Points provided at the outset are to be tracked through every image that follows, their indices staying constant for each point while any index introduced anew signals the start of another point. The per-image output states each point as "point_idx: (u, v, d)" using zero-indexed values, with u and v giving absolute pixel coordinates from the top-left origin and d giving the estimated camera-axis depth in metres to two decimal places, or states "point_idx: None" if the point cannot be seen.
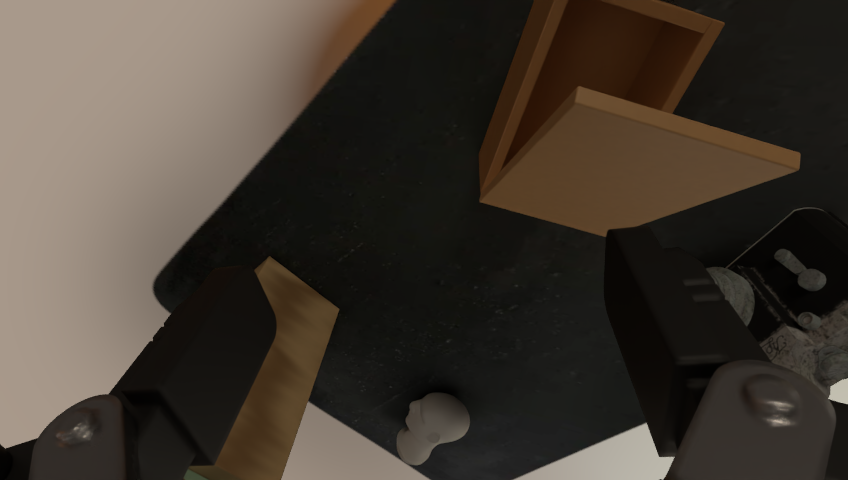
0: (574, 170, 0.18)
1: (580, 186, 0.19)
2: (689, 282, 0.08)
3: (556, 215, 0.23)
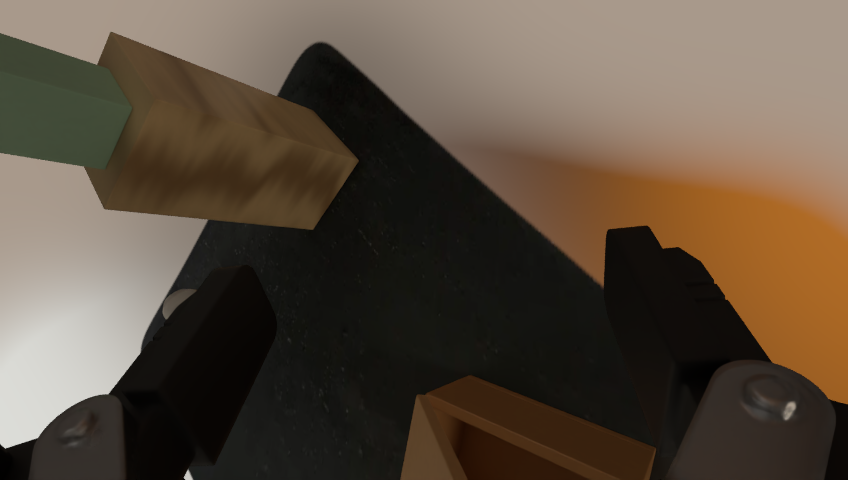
0: None
1: None
2: (689, 282, 0.08)
3: (407, 477, 0.23)
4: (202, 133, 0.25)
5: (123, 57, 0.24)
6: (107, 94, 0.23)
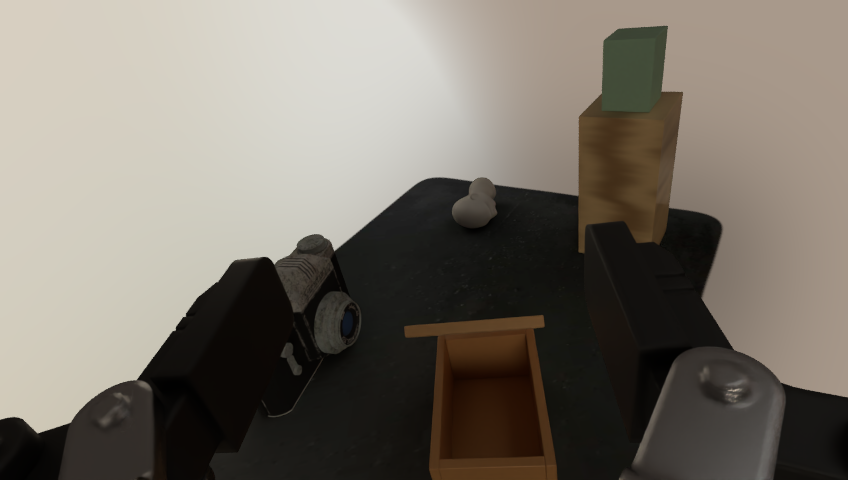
0: None
1: None
2: (661, 275, 0.08)
3: None
4: (646, 152, 0.40)
5: (674, 101, 0.40)
6: (652, 98, 0.39)
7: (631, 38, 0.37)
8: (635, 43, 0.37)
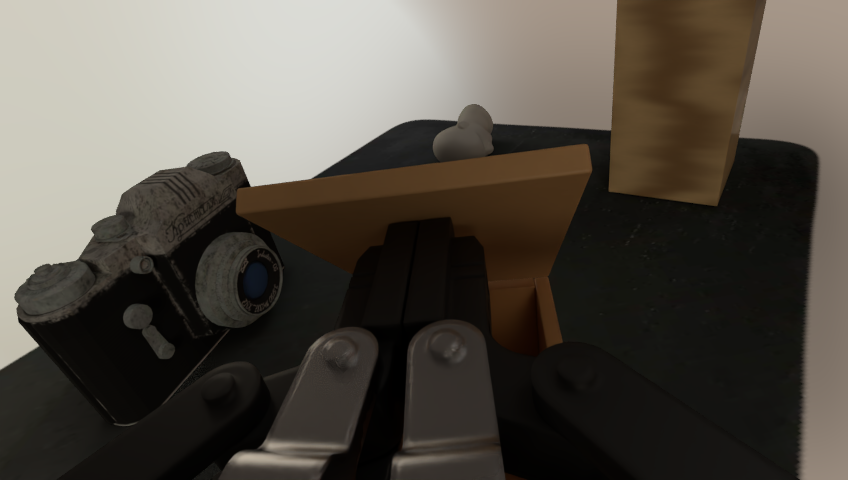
0: None
1: None
2: (465, 263, 0.10)
3: None
4: (729, 8, 0.25)
5: None
6: None
7: None
8: None
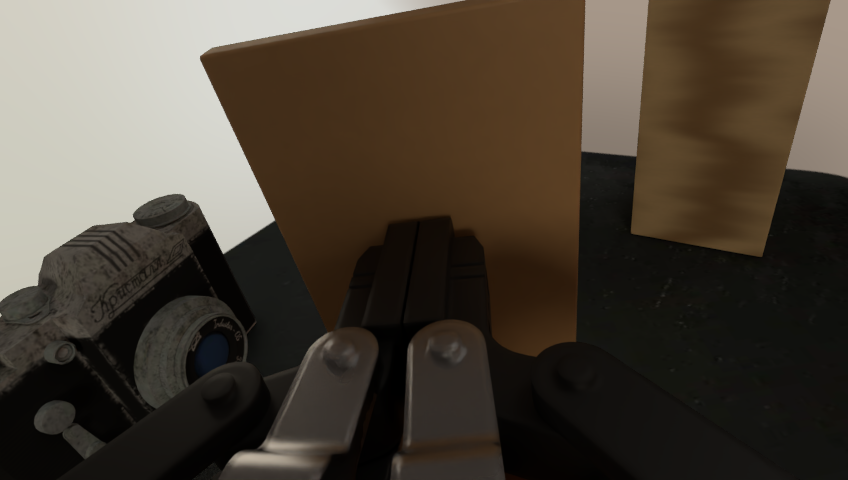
0: None
1: None
2: (465, 263, 0.10)
3: None
4: (789, 28, 0.20)
5: None
6: None
7: None
8: None
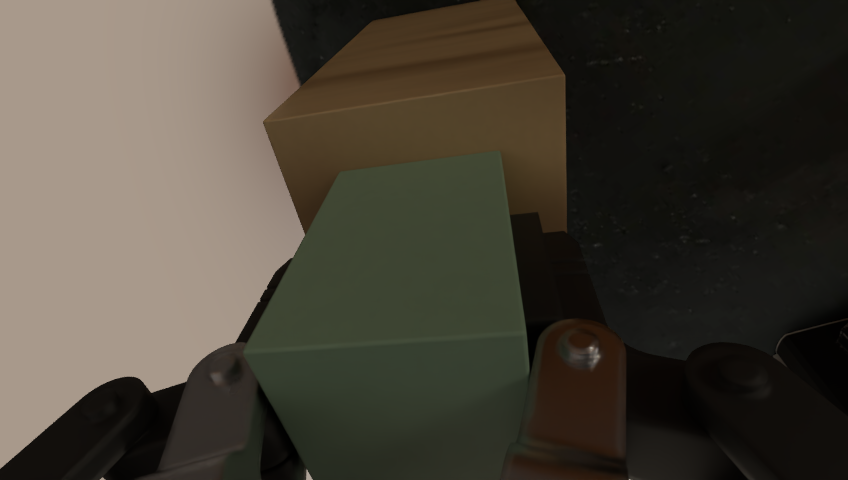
0: None
1: None
2: (563, 260, 0.09)
3: None
4: None
5: (365, 114, 0.11)
6: (470, 171, 0.10)
7: (517, 422, 0.07)
8: None
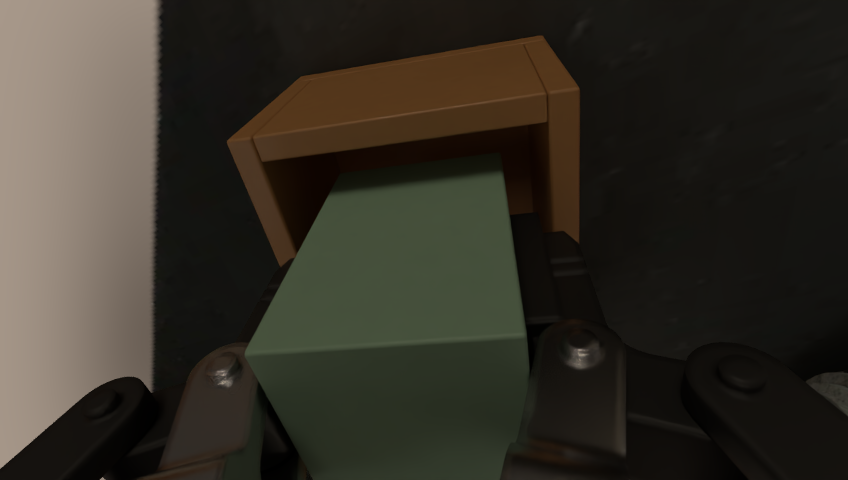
0: None
1: None
2: (562, 260, 0.09)
3: None
4: None
5: None
6: (470, 172, 0.10)
7: (517, 424, 0.07)
8: None
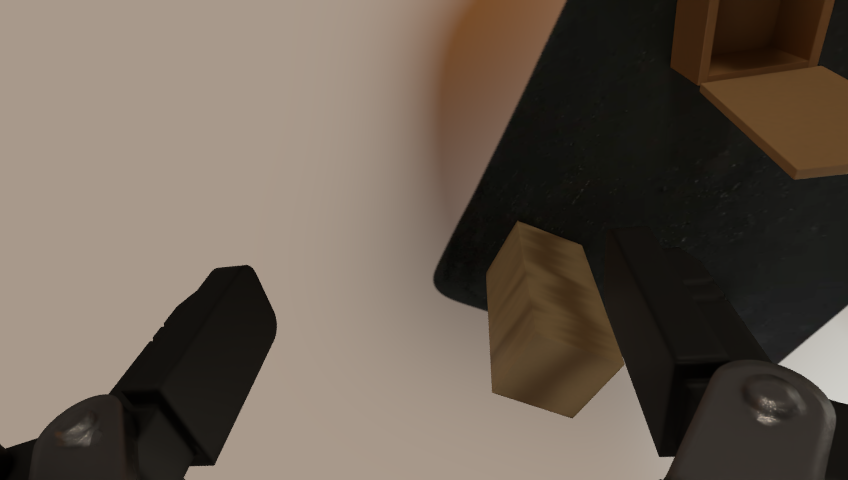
0: None
1: None
2: (689, 282, 0.08)
3: None
4: (545, 309, 0.34)
5: (509, 373, 0.34)
6: None
7: None
8: None
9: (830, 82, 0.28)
